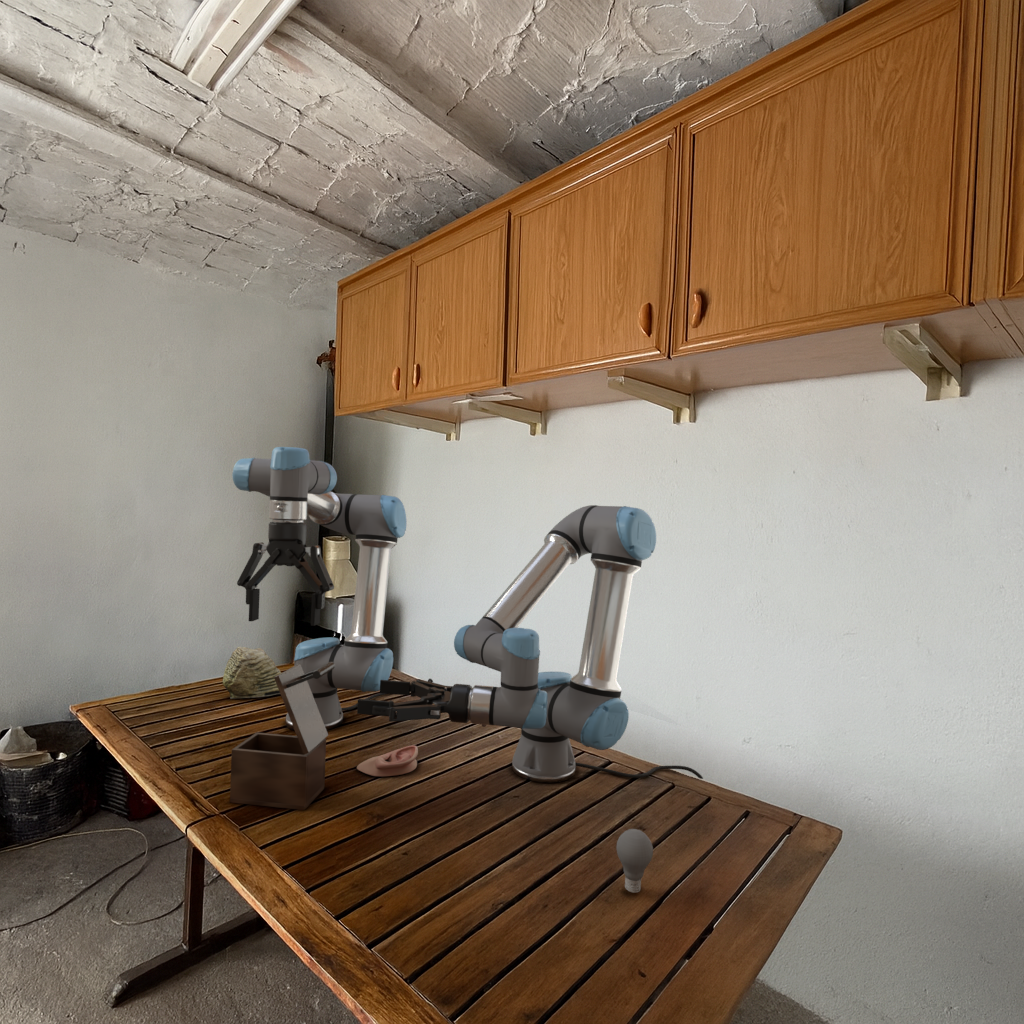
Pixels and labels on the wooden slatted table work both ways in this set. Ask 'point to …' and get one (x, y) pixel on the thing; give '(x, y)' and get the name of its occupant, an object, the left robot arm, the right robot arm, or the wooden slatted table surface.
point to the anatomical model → (391, 762)
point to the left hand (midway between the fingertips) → (284, 622)
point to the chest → (276, 772)
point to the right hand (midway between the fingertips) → (369, 695)
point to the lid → (303, 704)
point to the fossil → (250, 674)
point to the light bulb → (634, 857)
